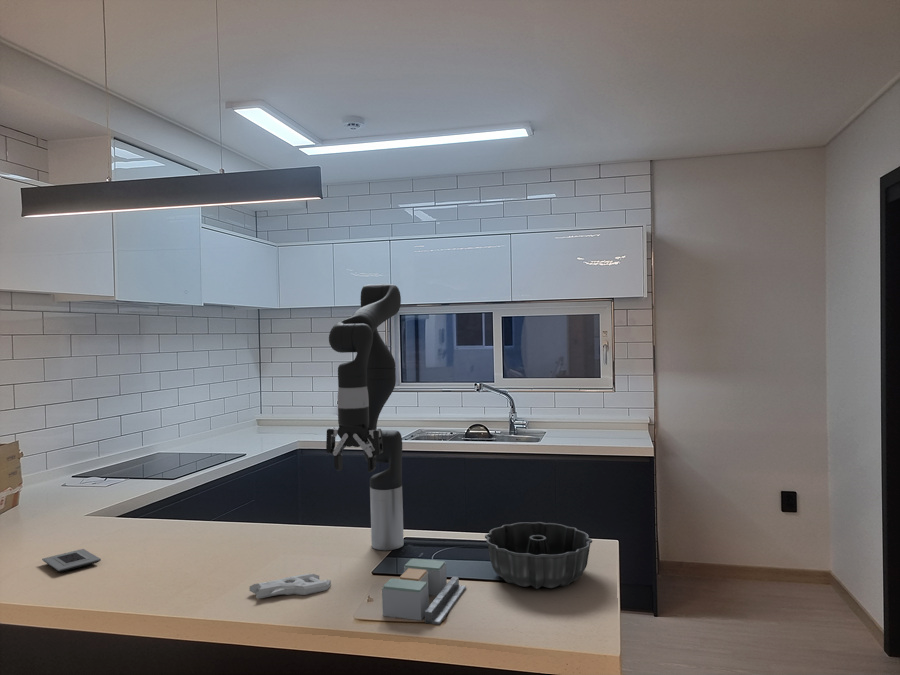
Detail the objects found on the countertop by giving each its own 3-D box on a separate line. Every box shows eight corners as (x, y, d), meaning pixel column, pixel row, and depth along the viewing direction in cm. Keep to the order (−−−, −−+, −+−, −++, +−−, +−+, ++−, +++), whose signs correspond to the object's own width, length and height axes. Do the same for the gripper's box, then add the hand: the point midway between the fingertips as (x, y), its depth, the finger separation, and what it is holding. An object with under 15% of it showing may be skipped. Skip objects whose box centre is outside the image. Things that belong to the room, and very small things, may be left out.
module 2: (391, 606, 153) (390, 577, 152) (428, 610, 150) (428, 581, 150) (382, 615, 148) (381, 586, 148) (421, 620, 145) (420, 590, 145)
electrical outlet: (42, 566, 185) (42, 557, 185) (83, 555, 193) (83, 547, 193) (58, 577, 176) (58, 568, 176) (101, 566, 184) (100, 557, 184)
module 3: (411, 584, 165) (411, 558, 165) (446, 587, 162) (446, 561, 162) (404, 592, 160) (403, 565, 160) (440, 596, 157) (439, 568, 157)
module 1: (408, 595, 159) (407, 567, 159) (428, 597, 157) (427, 569, 157) (399, 605, 153) (398, 577, 153) (419, 607, 152) (419, 579, 151)
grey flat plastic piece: (261, 592, 154) (248, 580, 162) (261, 607, 154) (247, 594, 162) (335, 578, 164) (319, 567, 172) (335, 592, 164) (318, 580, 172)
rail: (453, 586, 163) (452, 576, 163) (465, 588, 162) (465, 577, 162) (425, 623, 144) (424, 611, 144) (439, 624, 143) (439, 613, 143)
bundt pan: (567, 553, 184) (567, 517, 184) (611, 590, 158) (610, 548, 158) (474, 563, 179) (473, 525, 178) (503, 603, 153) (502, 560, 153)
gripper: (386, 403, 166) (387, 468, 167) (334, 402, 171) (336, 466, 171) (373, 407, 159) (375, 475, 160) (319, 406, 163) (321, 473, 164)
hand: (355, 470), depth 165 cm, fingers open, 8 cm apart
